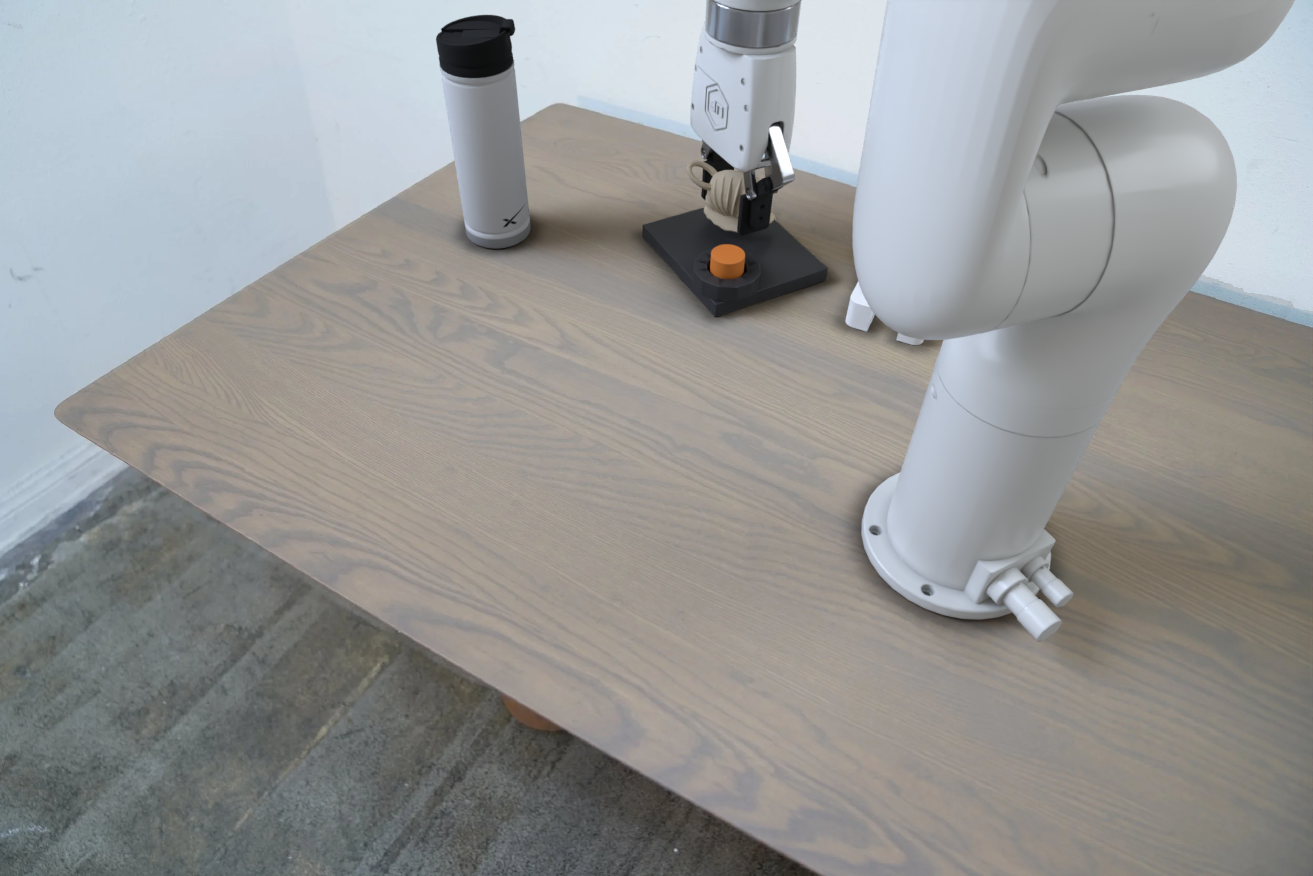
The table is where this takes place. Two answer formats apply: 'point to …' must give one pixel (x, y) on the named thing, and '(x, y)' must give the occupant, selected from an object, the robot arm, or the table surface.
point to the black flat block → (767, 267)
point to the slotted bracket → (867, 316)
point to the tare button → (727, 261)
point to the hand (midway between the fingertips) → (734, 211)
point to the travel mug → (485, 128)
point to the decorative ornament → (722, 195)
